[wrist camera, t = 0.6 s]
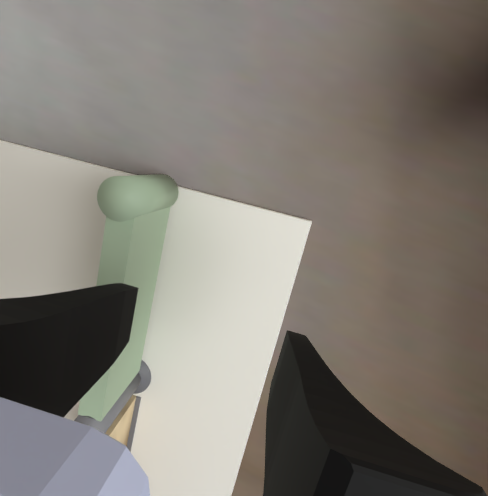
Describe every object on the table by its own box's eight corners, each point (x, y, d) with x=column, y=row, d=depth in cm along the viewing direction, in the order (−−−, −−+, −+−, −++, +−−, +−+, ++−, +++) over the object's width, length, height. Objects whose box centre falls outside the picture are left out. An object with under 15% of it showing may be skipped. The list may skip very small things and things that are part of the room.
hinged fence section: (140, 393, 22) (98, 454, 17) (112, 384, 22) (63, 443, 17) (181, 178, 18) (143, 182, 14) (148, 170, 18) (100, 171, 14)
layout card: (220, 529, 24) (219, 536, 24) (-43, 440, 26) (-49, 445, 25) (311, 220, 19) (311, 222, 18) (-30, 131, 20) (-38, 131, 20)
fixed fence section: (121, 500, 24) (75, 587, 19) (96, 492, 24) (45, 576, 19) (141, 397, 22) (96, 464, 17) (114, 389, 22) (62, 453, 17)
